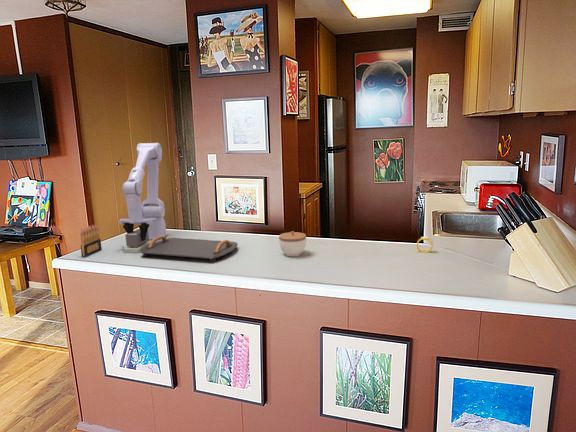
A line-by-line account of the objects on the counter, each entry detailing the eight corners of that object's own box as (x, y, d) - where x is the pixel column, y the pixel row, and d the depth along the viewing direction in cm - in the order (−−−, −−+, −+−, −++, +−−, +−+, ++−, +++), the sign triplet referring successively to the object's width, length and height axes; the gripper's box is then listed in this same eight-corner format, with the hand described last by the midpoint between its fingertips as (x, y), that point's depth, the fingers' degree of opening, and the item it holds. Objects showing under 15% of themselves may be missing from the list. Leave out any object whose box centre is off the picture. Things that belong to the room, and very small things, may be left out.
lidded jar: (291, 260, 174) (290, 236, 172) (274, 254, 182) (273, 231, 180) (312, 254, 180) (311, 231, 178) (294, 248, 188) (294, 226, 186)
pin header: (139, 244, 204) (138, 234, 203) (153, 244, 202) (152, 234, 201) (123, 252, 191) (122, 242, 190) (138, 253, 190) (137, 242, 189)
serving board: (133, 258, 184) (132, 243, 183) (166, 243, 205) (165, 229, 204) (219, 265, 172) (218, 249, 170) (244, 248, 193) (243, 234, 192)
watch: (416, 253, 178) (416, 238, 177) (417, 251, 181) (416, 236, 180) (432, 253, 176) (432, 238, 175) (432, 251, 179) (432, 236, 178)
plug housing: (138, 240, 201) (137, 229, 200) (149, 240, 200) (148, 229, 199) (126, 246, 192) (125, 234, 191) (137, 246, 191) (136, 234, 190)
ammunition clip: (85, 257, 186) (81, 229, 184) (81, 257, 187) (77, 228, 184) (102, 250, 196) (98, 223, 194) (98, 249, 197) (94, 222, 194)
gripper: (113, 211, 191) (117, 242, 194) (145, 211, 188) (148, 243, 191) (123, 207, 197) (126, 237, 200) (153, 207, 194) (156, 238, 197)
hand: (137, 240), depth 196 cm, fingers closed on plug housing, 5 cm apart
